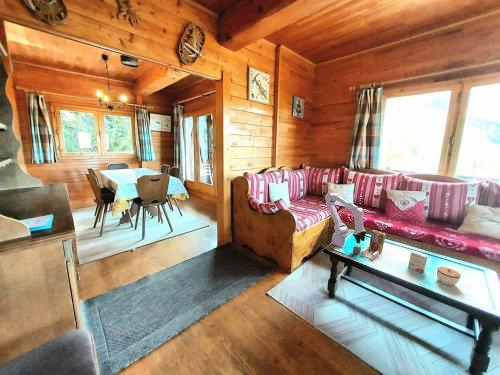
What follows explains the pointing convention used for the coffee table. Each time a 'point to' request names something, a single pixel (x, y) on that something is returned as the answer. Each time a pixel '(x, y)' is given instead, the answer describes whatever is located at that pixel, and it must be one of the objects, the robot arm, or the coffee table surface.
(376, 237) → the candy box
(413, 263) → the ink box
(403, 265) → the coffee table surface
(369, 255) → the end holder
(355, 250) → the connector plug
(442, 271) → the lidded jar
